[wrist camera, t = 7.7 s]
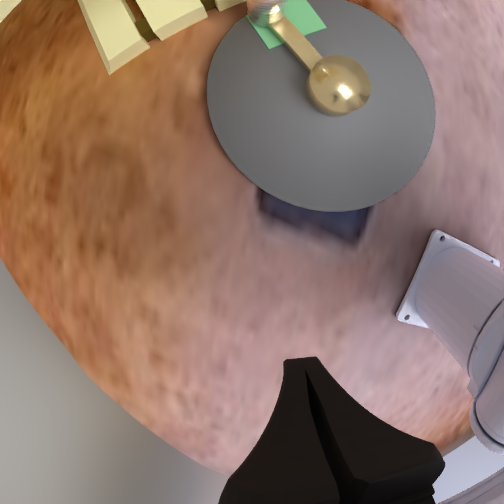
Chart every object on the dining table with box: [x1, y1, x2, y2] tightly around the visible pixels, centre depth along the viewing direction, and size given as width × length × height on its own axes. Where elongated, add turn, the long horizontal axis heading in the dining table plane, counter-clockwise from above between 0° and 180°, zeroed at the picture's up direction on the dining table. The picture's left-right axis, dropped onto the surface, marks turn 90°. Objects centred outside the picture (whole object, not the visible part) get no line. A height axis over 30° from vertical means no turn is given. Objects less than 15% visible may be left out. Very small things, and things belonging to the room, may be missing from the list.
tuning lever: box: [247, 0, 371, 117], centre depth 13 cm, size 10×4×5 cm, turn 36°
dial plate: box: [207, 0, 435, 212], centre depth 17 cm, size 16×16×1 cm
